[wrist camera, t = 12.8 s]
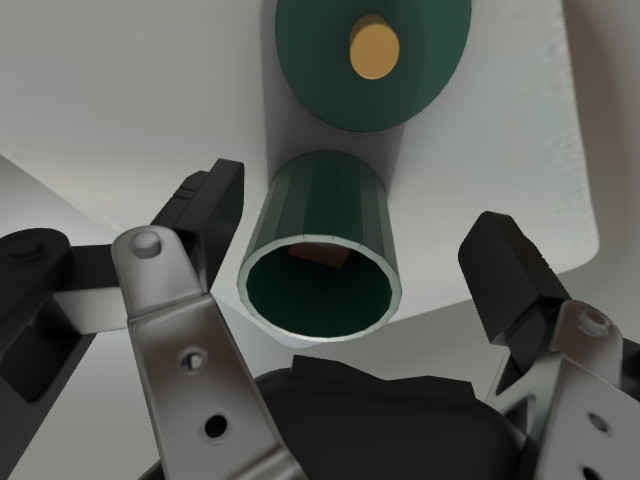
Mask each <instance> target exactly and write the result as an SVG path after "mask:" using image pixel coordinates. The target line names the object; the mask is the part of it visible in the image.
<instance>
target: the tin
mask: <svg viewBox="0 0 640 480" xmlns="http://www.w3.org/2000/svg"><path fill="white" fill-rule="evenodd" d="M300 242H325V243H334V244H337V245H341V246H344V247H347V248H351V251H350V253H349V254H348V256H347V258H346V260H345V262H344V263H343V265H342V267H341V269H338V268H335V267H331V266H328V265H324V264H321V263H318V262H314V261H311V260H308V259H304V258H301V257H297V256H294V255H291V254H288V248H289V245H290V244H295V243H300ZM237 287H238V291H239V295H240V299H241V301H242V303H243V304H244V306H245V307H246V308H247V310H248V311H249V312H250V314H251V315H252V316H254V317H255V318H256V319H258V320H259V321H260V322H261V323H263V324H264V325H265V326H267V327H269V328H271V329H273V330H275V331H277V332H280V333H282V334H284V335H287V336H290V337H294V338H298V339H302V340H308V341H320V342H334V341H343V340H350V339H354V338H357V337H360V336H363V335H366V334H369V333H371V332H373V331H375V330H376V329H378V328H379V327H381V326H383V325H384V324H386V323H387V322H388V321H389V319H390V318H391V317H392V316H393V315H394V313H395V312H396V311H397V309H398V307H399V303H400V299H401V296H402V288H401V282H400V276H399V270H398V264H397V258H396V252H395V246H394V240H393V234H392V229H391V223H390V217H389V211H388V205H387V200H386V195H385V190H384V187H383V185H382V182H381V181H380V179H379V177H378V176H377V174H376V173H375V172H374V171H373V170H372V169H371V168H370V167H369V166H368V165H367V164H366V163H364V162H363V161H361V160H359V159H358V158H356V157H354V156H351V155H349V154H346V153H342V152H337V151H314V152H310V153H306V154H303V155H301V156H298V157H296V158H294V159H293V160H291V161H289V162H288V163H287V164H286V165H284V166H283V167H282V168H281V169H280V170H279V172H278V173H277V175H276V176H275V178H274V180H273V181H272V183H271V185H270V188H269V191H268V193H267V196H266V199H265V201H264V204H263V207H262V210H261V212H260V215H259V218H258V220H257V223H256V226H255V229H254V231H253V234H252V237H251V239H250V242H249V245H248V247H247V250H246V253H245V256H244V258H243V261H242V264H241V266H240V270H239V275H238V279H237Z"/></svg>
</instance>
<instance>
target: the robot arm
mask: <svg viewBox="0 0 640 480" xmlns="http://www.w3.org/2000/svg"><path fill="white" fill-rule="evenodd" d="M243 205H244V164H243V163H242V162H237V161H232V160H226V159H221V158H219V159H218V160H217V161H216V163H215V164H214V166H213V167H212V169H211V170H210V172H206V171H201V170H200V171H198V172H196V173H194V174H192V175H190V176H189V177H187V178H186V179H185V180H184V182H183V183H182V184H181V185H180V187H179V189H177V191H176V192H175V193H174V194H173V197H171V198H170V199H169V201H168V202H167V203H166V205H165V206H164V207H163V208H162V210H161V211H160V212H159V213H158V215H157V216H156V217H155V219H154V220H153V221H152V222H151V224H150V225H147V226H140V227H136V228H133V229H130V230H128V231H126V232H124V233H122V234H121V235H120V236H118V237H117V238H116V239H115V241H114V242H113V244H107V245H90V246H71V244H70V242H69V240H68V238H67V236H66V235H65V234H63V233H62V232H60V231H57V230H55V229H49V228H33V229H26V230H22V231H17V232H14V233H11V234H9V235H6V236H4V237H2V238H0V480H7V479H8V478H9V476H10V474H11V473H12V471H13V469H14V468H15V466H16V465H17V463H18V461H19V459H20V458H21V456H22V455H23V453H24V452H25V450H26V448H27V447H28V445H29V443H30V442H31V440H32V438H33V437H34V435H35V434H36V432H37V430H38V429H39V427H40V426H41V424H42V422H43V421H44V419H45V417H46V416H47V414H48V413H49V411H50V409H51V408H52V406H53V404H54V403H55V401H56V400H57V398H58V396H59V395H60V393H61V391H62V390H63V388H64V387H65V385H66V383H67V381H68V380H69V378H70V376H71V375H72V374H73V372H74V370H75V369H76V367H77V365H78V364H79V362H80V360H81V359H82V357H83V356H84V354H85V352H86V351H87V349H88V348H89V346H90V344H91V343H92V341H93V339H94V338H95V336H96V334H97V333H99V332H107V331H114V330H122V329H128V331H129V335H130V339H131V343H132V347H133V351H134V355H135V359H136V363H137V367H138V371H139V375H140V379H141V383H142V387H143V391H144V395H145V399H146V403H147V407H148V411H149V415H150V419H151V423H152V427H153V431H154V435H155V439H156V443H157V447H158V451H159V455H160V459H159V460H158V461H157V462H156V463H155V464H154V465H153V466H152V467H151V468H150V469H148V470H147V471H146V472H145V473H144V474H143V475H142V476H141V477H140V478H139V479H137V480H640V344H637V343H635V342H633V341H630V340H628V339H625V338H623V337H622V334H621V332H620V330H619V329H618V327H617V326H616V325H615V324H614V323H613V321H611V320H610V319H609V318H608V317H607V316H606V315H605V314H603V313H602V312H601V311H599V310H598V309H596V308H594V307H592V306H591V305H589V304H586V303H584V302H581V301H577V300H572V298H571V297H570V295H569V294H568V292H567V291H566V289H565V288H564V287H563V285H562V284H561V282H560V281H559V279H558V278H557V277H556V275H555V274H554V272H553V271H552V269H551V268H549V265H548V263H547V262H546V260H545V259H544V258H542V255H541V253H540V252H539V250H538V249H537V247H536V246H535V245H534V243H532V242H531V241H530V240H529V239H528V238H527V237H526V236H524V234H523V233H522V231H521V230H520V229H519V227H518V226H517V224H516V223H515V221H514V220H513V218H512V217H511V216H509V215H505V214H500V213H495V212H490V211H485V212H483V213H482V214H481V215H480V216H479V218H478V219H477V221H476V222H475V224H474V225H473V227H472V228H471V230H470V232H469V233H468V235H467V236H466V238H465V239H464V241H463V242H462V244H461V246H460V248H459V252H458V261H459V264H460V267H461V270H462V272H463V275H464V277H465V280H466V282H467V285H468V288H469V290H470V293H471V295H472V298H473V300H474V303H475V306H476V308H477V311H478V314H479V316H480V319H481V321H482V324H483V327H484V329H485V332H486V334H487V337H488V340H489V342H490V344H495V345H501V346H507V347H509V349H510V351H509V352H508V353H507V354H506V355H505V356H504V357H503V359H502V362H501V364H500V366H499V369H498V371H497V374H496V376H495V378H494V381H493V383H492V386H491V388H490V390H489V393H488V395H487V398H486V400H485V402H482V401H480V400H478V399H476V398H475V394H474V390H473V387H472V384H471V382H467V381H461V380H454V379H448V378H441V377H434V376H421V377H413V378H405V379H396V380H383V379H380V378H377V377H375V376H372V375H370V374H368V373H365V372H363V371H360V370H358V369H355V368H353V367H350V366H348V365H346V364H344V363H341V362H339V361H333V360H326V359H320V358H314V357H307V356H301V355H294V356H293V360H292V364H291V368H283V369H278V370H274V371H270V372H267V373H265V374H262V375H260V376H258V377H256V378H254V379H253V377H252V375H251V373H250V371H249V369H248V367H247V364H246V363H245V360H244V358H243V356H242V354H241V352H240V350H239V348H238V346H237V344H236V342H235V340H234V338H233V335H232V333H231V331H230V329H229V327H228V325H227V323H226V321H225V319H224V317H223V315H222V313H221V311H220V309H219V306H218V304H217V302H216V300H215V299H214V297H213V295H212V294H211V293H210V290H211V287H212V285H213V283H214V281H215V278H216V276H217V274H218V271H219V269H220V267H221V264H222V262H223V260H224V257H225V255H226V253H227V250H228V248H229V246H230V244H231V241H232V239H233V237H234V234H235V232H236V230H237V227H238V225H239V223H240V220H241V217H242V212H243Z"/></svg>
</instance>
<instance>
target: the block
mask: <svg viewBox="0 0 640 480" xmlns="http://www.w3.org/2000/svg"><path fill="white" fill-rule="evenodd" d="M350 251H351V248H347V247H344V246H341V245H337V244H334V243H325V242H300V243H295V244H290V245H289V248H288V254H291V255H294V256H297V257H301V258H304V259H308V260H311V261H314V262H318V263H321V264H324V265H328V266H331V267H335V268H338V269H341V267H342V265H343V263H344V262H345V260H346V258H347V256H348V254H349V253H350Z"/></svg>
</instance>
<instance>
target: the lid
mask: <svg viewBox="0 0 640 480" xmlns="http://www.w3.org/2000/svg"><path fill="white" fill-rule="evenodd" d="M470 19H471V0H278V2H277V10H276V19H275V35H276V44H277V51H278V55H279V60H280V63H281V66H282V69H283V72H284V75H285V77H286V79H287V81H288V83H289V85H290V87H291V89H292V90H293V92H294V93H295V95H296V96H297V98H298V99H299V100H300V101H301V103H302V104H303V105H304V106H305V107H306V108H307V109H308V110H309V111H310V112H311V113H313V114H314V115H315V116H317V117H318V118H319V119H321V120H323V121H324V122H326V123H328V124H330V125H332V126H335V127H337V128H340V129H344V130H348V131H355V132H372V131H380V130H384V129H388V128H391V127H394V126H396V125H399V124H401V123H403V122H405V121H407V120H409V119H411V118H412V117H414V116H415V115H417V114H418V113H419V112H421V111H422V110H423V109H424V108H426V107H427V106H428V105H429V104H430V103H431V102H432V101H433V100H434V99H435V98H436V97H437V96H438V95H439V94H440V92H441V91H442V90H443V88H444V87H445V86H446V84H447V83H448V81H449V80H450V78H451V76H452V75H453V73H454V71H455V69H456V67H457V65H458V63H459V61H460V59H461V56H462V53H463V50H464V47H465V45H466V41H467V37H468V32H469V28H470Z"/></svg>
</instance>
